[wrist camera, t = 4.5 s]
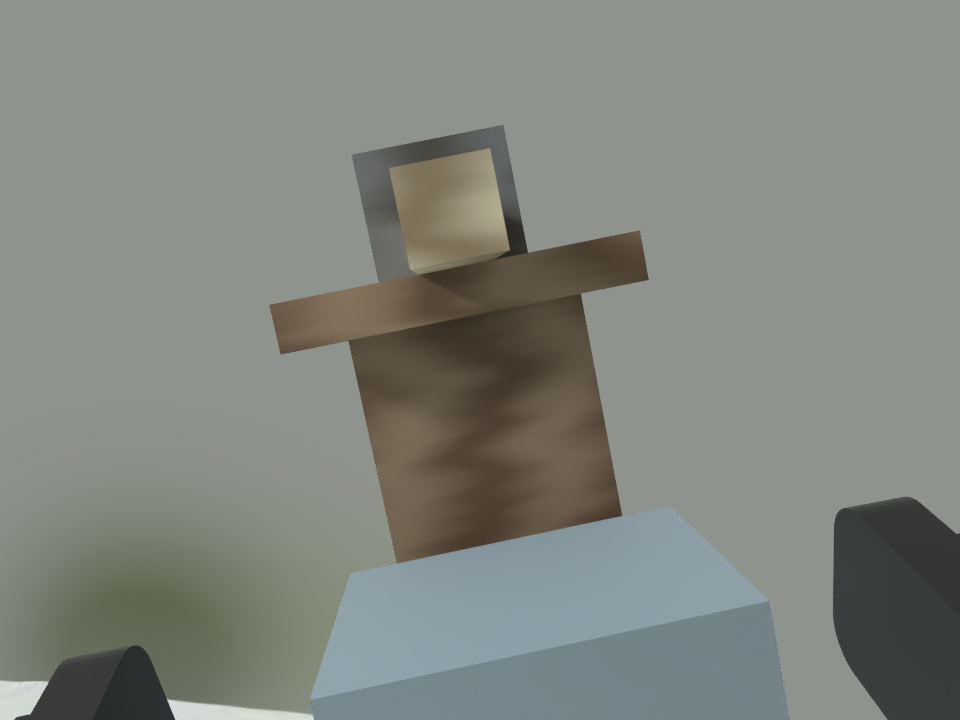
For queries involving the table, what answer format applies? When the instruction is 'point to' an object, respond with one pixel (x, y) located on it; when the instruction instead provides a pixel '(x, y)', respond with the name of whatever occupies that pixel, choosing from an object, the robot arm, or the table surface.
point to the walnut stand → (479, 392)
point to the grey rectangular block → (440, 203)
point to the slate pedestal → (557, 632)
